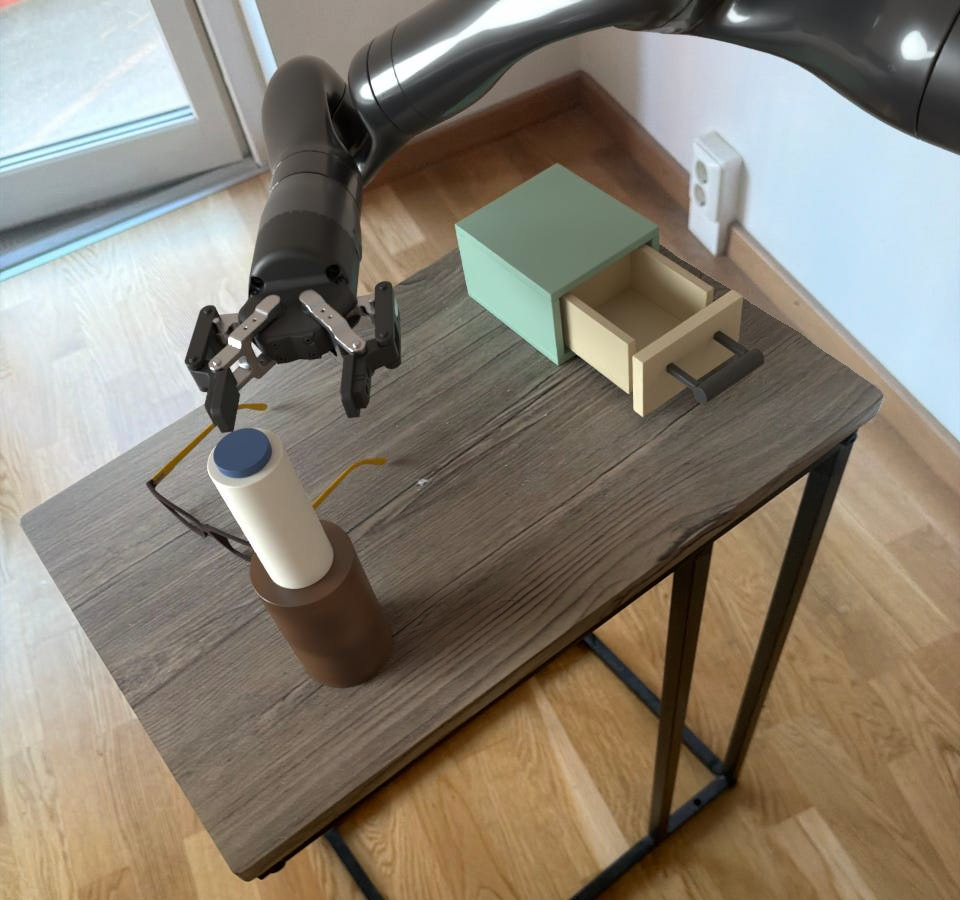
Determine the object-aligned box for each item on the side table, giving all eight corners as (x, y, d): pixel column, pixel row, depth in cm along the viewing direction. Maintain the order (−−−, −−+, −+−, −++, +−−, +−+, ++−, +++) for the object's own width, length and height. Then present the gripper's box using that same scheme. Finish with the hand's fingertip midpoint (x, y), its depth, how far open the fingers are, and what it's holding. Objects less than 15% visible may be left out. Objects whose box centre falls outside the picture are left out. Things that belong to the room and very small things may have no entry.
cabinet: (658, 300, 84) (659, 225, 77) (558, 366, 82) (550, 295, 75) (563, 236, 91) (557, 162, 84) (468, 295, 88) (454, 223, 82)
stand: (390, 600, 71) (352, 510, 62) (394, 680, 68) (354, 596, 58) (302, 615, 72) (250, 528, 63) (301, 695, 68) (246, 614, 59)
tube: (333, 529, 61) (279, 413, 52) (334, 583, 59) (278, 472, 50) (269, 540, 62) (204, 427, 53) (267, 594, 59) (199, 486, 50)
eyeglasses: (157, 519, 79) (135, 489, 76) (267, 407, 84) (251, 374, 81) (278, 587, 74) (261, 557, 70) (388, 462, 79) (377, 429, 75)
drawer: (779, 381, 76) (789, 324, 71) (683, 449, 73) (686, 395, 69) (637, 284, 84) (636, 227, 79) (547, 343, 82) (541, 288, 77)
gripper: (194, 222, 66) (153, 386, 57) (391, 192, 64) (379, 357, 55) (234, 309, 72) (203, 467, 64) (414, 284, 70) (407, 444, 62)
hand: (285, 416), depth 60 cm, fingers open, 8 cm apart
